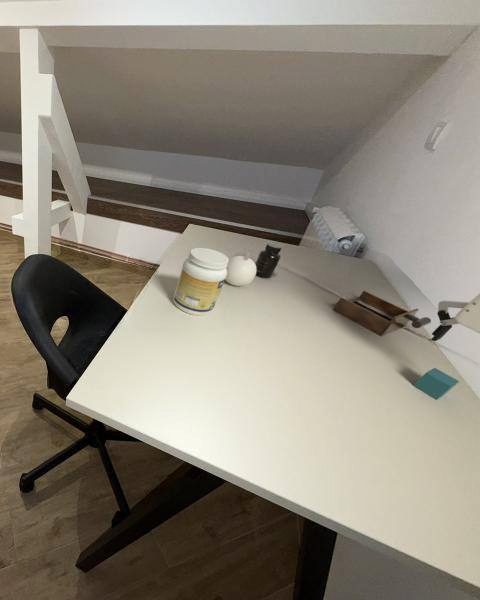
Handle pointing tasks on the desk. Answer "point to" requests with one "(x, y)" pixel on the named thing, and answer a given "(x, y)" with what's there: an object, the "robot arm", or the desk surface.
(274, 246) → the supplement bottle
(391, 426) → the desk surface
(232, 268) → the ornament
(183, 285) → the supplement tub
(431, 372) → the block
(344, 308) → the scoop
